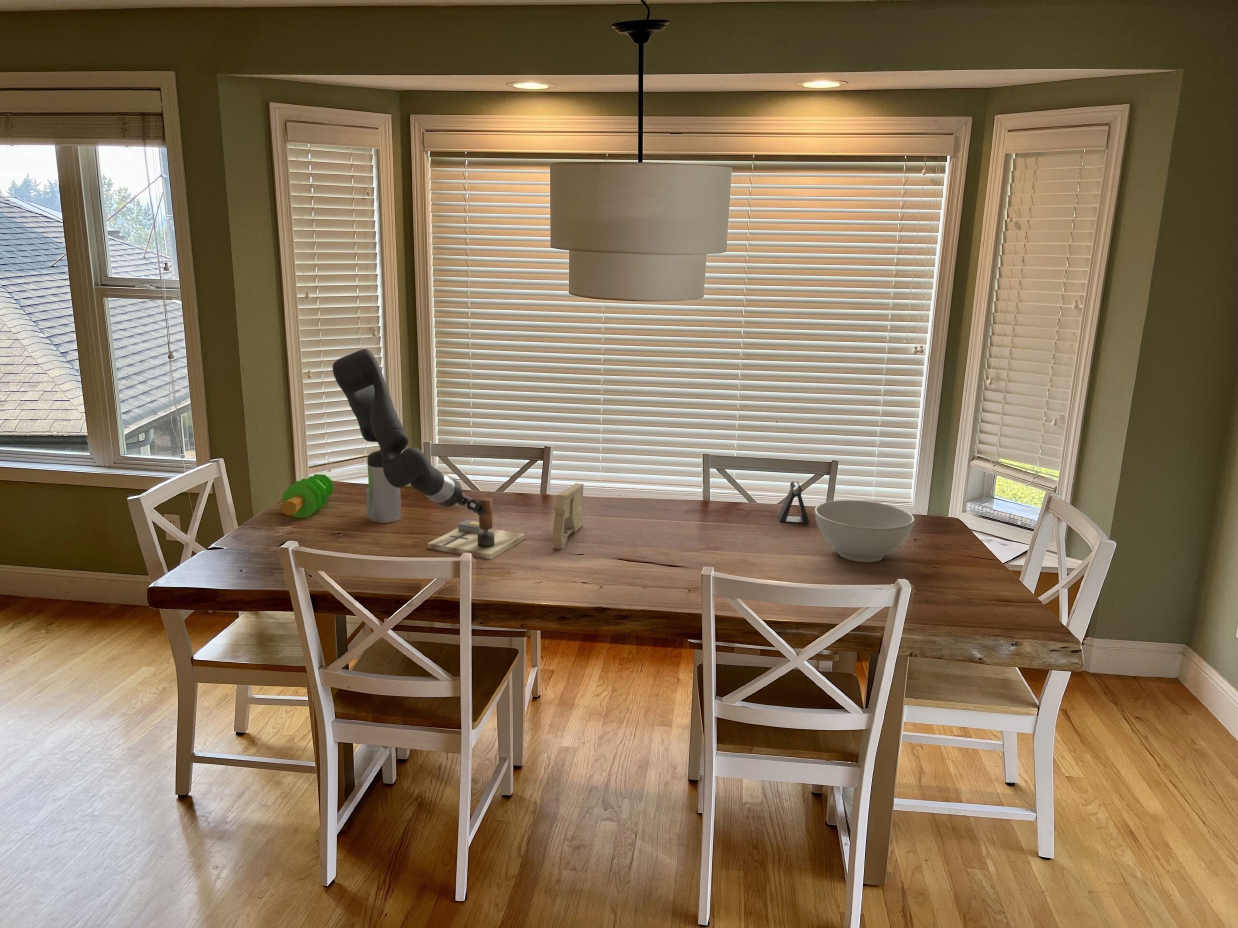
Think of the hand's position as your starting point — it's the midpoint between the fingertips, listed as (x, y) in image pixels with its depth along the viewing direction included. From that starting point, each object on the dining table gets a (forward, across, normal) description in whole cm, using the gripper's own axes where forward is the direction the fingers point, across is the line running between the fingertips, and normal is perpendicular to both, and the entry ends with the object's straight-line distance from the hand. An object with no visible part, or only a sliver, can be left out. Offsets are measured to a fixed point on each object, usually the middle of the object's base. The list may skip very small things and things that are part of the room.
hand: (470, 506), depth 243 cm
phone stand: (+67, +65, +43) cm, 103 cm away
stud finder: (+17, -6, -5) cm, 19 cm away
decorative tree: (+17, -62, -21) cm, 67 cm away
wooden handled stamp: (+9, +4, -7) cm, 12 cm away
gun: (+28, +17, +6) cm, 33 cm away
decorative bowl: (+47, +91, +37) cm, 109 cm away
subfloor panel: (+13, 0, -8) cm, 15 cm away
